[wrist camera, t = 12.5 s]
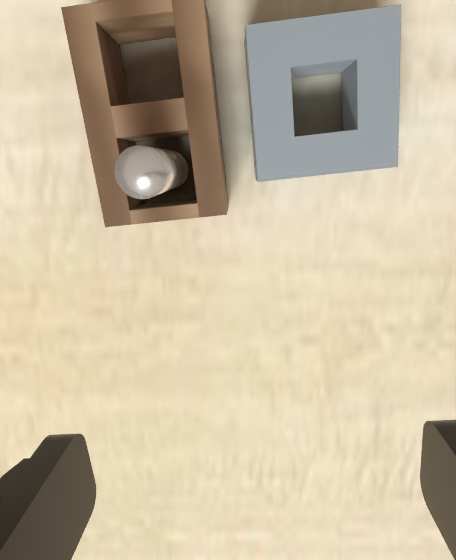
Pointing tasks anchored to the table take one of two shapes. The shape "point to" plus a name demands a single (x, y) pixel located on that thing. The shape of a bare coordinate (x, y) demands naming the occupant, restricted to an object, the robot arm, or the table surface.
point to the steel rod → (149, 171)
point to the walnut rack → (148, 115)
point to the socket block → (355, 91)
